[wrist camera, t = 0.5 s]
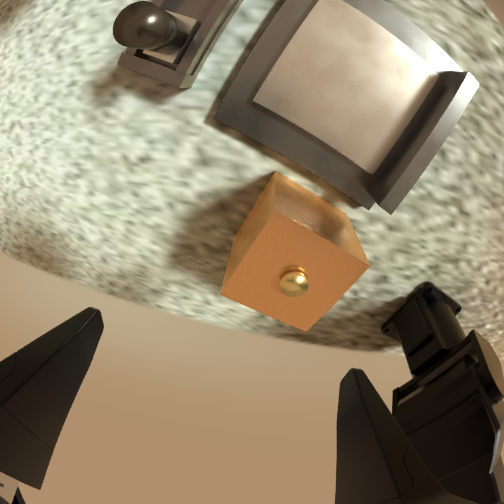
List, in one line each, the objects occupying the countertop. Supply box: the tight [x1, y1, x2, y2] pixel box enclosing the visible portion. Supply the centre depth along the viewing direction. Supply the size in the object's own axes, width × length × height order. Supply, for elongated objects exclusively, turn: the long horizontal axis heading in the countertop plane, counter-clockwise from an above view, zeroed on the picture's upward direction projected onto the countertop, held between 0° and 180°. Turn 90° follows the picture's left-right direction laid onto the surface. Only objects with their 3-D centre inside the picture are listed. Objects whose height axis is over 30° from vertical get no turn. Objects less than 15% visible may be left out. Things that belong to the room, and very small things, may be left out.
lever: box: [113, 1, 201, 64], centre depth 10 cm, size 2×3×5 cm
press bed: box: [213, 0, 479, 215], centre depth 12 cm, size 11×12×3 cm
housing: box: [220, 171, 370, 332], centre depth 16 cm, size 6×6×6 cm
